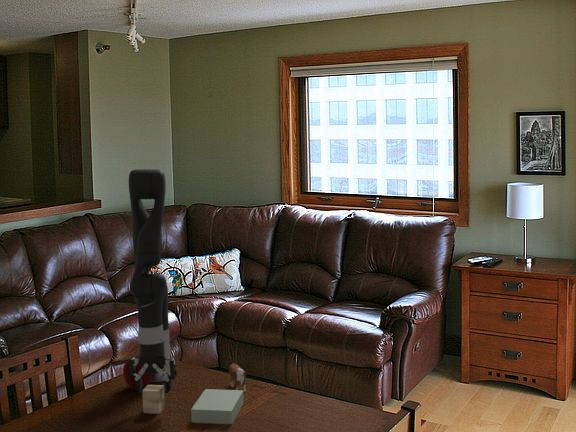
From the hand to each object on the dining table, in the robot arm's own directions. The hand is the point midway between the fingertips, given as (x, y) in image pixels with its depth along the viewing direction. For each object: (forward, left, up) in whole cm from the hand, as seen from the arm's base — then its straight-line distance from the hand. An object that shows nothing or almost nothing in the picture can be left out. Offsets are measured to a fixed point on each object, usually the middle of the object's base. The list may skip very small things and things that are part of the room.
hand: (153, 392), depth 222 cm
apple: (-17, -11, -6) cm, 22 cm away
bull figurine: (-19, +22, -6) cm, 30 cm away
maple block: (0, 0, -6) cm, 6 cm away
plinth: (0, +20, -6) cm, 20 cm away
